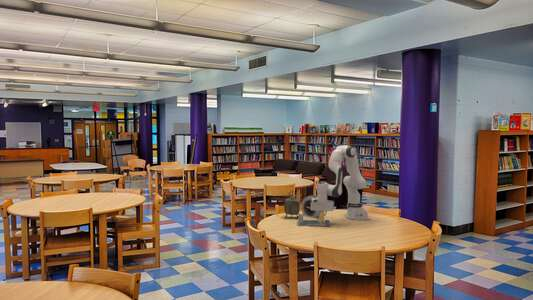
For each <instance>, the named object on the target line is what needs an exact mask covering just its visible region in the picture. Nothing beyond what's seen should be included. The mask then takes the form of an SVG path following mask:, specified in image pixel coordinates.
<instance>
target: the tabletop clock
mask: <svg viewBox="0 0 533 300" xmlns="http://www.w3.org/2000/svg"><path fill="white" fill-rule="evenodd" d="M290 193H291V194H290ZM293 193H294V194H293ZM288 195H289V197H288V198H285V200H284V203H283V204H284V205H283V211H284V214H285V217H286V218H287V217H288V215H290V219H293V216H296V218H299V214H300V212H301V211H300V210H301V209H300V208H301V203H300V199H299V198H296V197H295V196H296V195H297V192H296V191H295V190H294V191H293V190H290V191H289V192H288Z"/></svg>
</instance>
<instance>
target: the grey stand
mask: <svg viewBox="0 0 533 300" xmlns="http://www.w3.org/2000/svg"><path fill="white" fill-rule="evenodd" d="M324 214H325V211H319V217H317V219H311V220H307V219H306V218H303V220H304V221H311V222H320V220H321V221H322V222H325V220H326V219H325V216H324Z"/></svg>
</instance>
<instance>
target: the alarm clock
mask: <svg viewBox="0 0 533 300" xmlns="http://www.w3.org/2000/svg"><path fill="white" fill-rule="evenodd" d="M313 198H317V195H307V196H306V197H305V198H303V200H302V202H301V203H300V208H301V209H300V210H301V214H303V217H304V216H306V217H309V218H313V219H318V218H319V216H318V214H317V212H316V211H314V210H310V205H311V202H312V199H313ZM318 213H319V211H318Z"/></svg>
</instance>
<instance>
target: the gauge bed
mask: <svg viewBox="0 0 533 300" xmlns="http://www.w3.org/2000/svg"><path fill="white" fill-rule="evenodd" d="M297 219H298V226H299V227H320V228H321V227H322V228H324V227H325V228H332V222H331V220H330V219H325V222H322V224H320V222H311V221H304V215H303V213H299V214H298V217H297ZM307 220H312V219H307Z"/></svg>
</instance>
